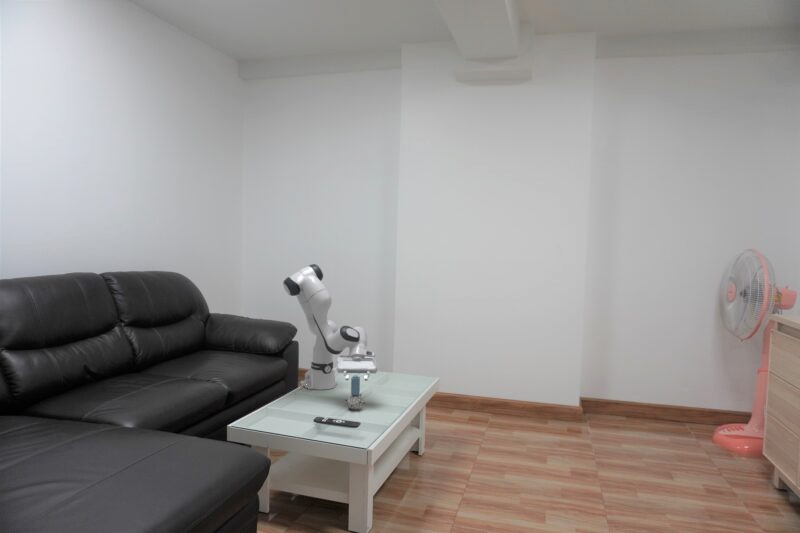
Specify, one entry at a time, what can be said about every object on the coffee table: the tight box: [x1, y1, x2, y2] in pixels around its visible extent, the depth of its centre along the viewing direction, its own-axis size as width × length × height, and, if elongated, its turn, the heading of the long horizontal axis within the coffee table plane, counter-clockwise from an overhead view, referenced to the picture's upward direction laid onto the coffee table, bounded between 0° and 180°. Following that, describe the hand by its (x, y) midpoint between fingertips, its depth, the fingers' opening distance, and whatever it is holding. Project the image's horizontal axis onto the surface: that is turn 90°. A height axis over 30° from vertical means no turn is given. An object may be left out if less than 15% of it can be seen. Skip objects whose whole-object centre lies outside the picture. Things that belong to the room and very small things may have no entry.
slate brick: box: [350, 375, 361, 396], centre depth 268 cm, size 4×4×9 cm
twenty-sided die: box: [345, 393, 366, 412], centre depth 269 cm, size 9×8×10 cm
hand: (356, 379), depth 269 cm, fingers open, 8 cm apart
